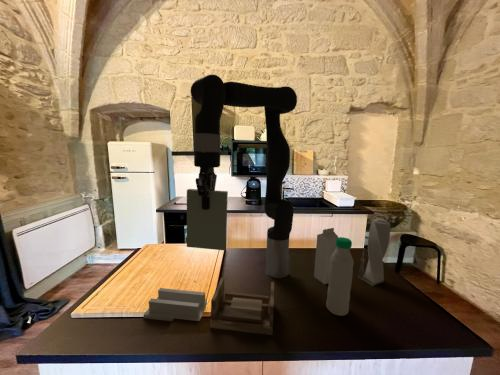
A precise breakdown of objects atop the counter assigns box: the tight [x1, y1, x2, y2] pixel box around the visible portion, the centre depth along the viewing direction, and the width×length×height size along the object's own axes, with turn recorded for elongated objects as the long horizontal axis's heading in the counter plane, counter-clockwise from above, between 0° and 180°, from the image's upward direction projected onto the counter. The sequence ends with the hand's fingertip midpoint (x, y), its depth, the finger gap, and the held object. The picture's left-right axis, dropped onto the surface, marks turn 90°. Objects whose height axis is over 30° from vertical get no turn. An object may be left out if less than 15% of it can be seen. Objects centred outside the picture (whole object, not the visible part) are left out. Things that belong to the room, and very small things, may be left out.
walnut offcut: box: [222, 305, 263, 325], centre depth 66 cm, size 4×12×3 cm, turn 83°
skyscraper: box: [356, 213, 391, 287], centre depth 89 cm, size 8×8×28 cm
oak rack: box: [209, 277, 275, 336], centre depth 69 cm, size 14×18×9 cm
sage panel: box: [186, 188, 229, 251], centre depth 67 cm, size 2×12×18 cm, turn 84°
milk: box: [313, 227, 339, 285], centre depth 90 cm, size 6×6×22 cm
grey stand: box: [143, 287, 208, 322], centre depth 72 cm, size 10×18×5 cm, turn 83°
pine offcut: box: [230, 297, 262, 320], centre depth 66 cm, size 4×9×3 cm, turn 83°
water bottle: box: [326, 236, 355, 317], centre depth 72 cm, size 7×7×25 cm
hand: (206, 208), depth 67 cm, fingers closed on sage panel, 2 cm apart
